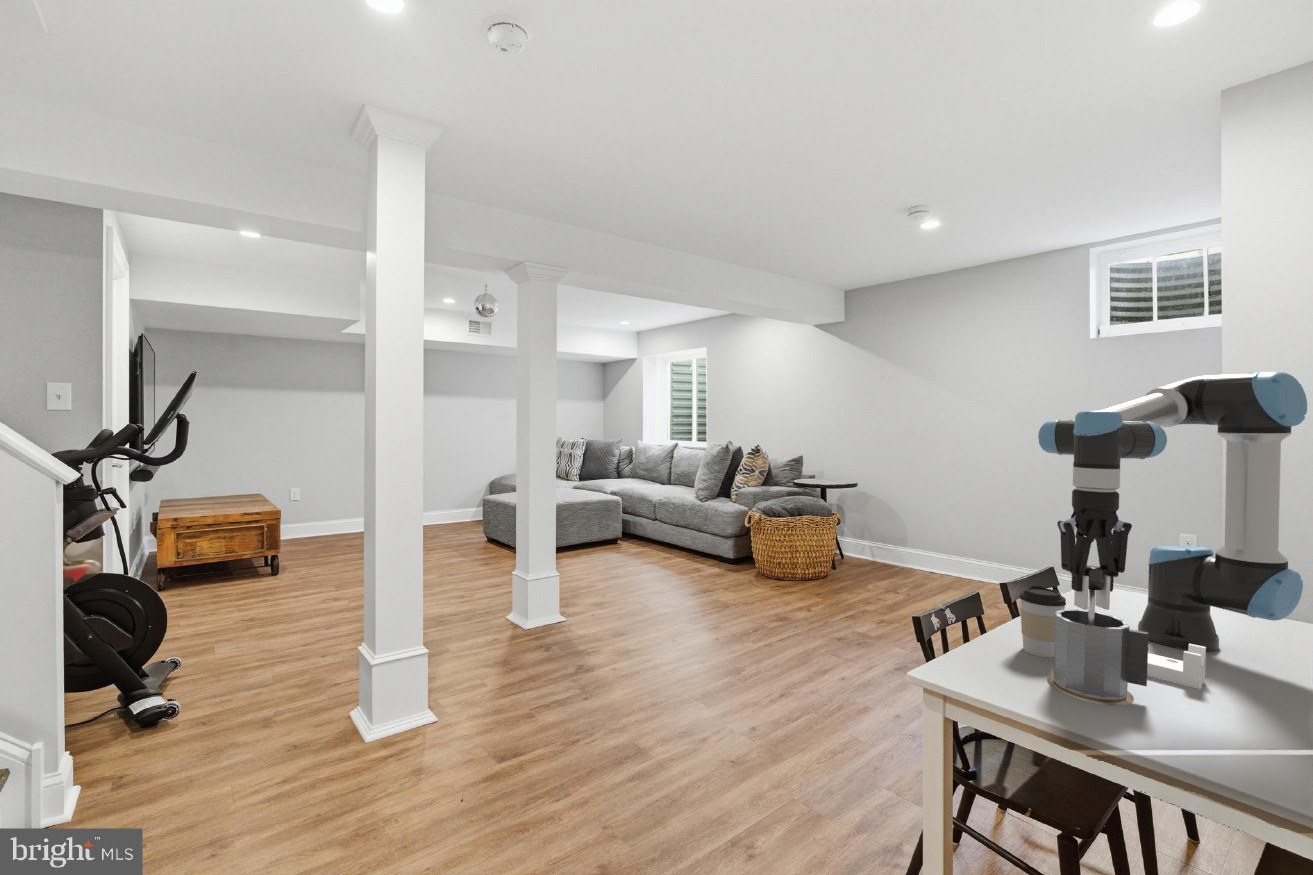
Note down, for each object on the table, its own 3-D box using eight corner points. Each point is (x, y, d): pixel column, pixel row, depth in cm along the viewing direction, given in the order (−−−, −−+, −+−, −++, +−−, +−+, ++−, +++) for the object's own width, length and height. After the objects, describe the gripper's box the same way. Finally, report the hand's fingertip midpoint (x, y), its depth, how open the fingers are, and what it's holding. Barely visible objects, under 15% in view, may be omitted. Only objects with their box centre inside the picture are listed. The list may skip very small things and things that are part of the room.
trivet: (1097, 676, 127) (1097, 673, 127) (1153, 708, 113) (1153, 705, 113) (1031, 676, 126) (1031, 673, 126) (1079, 708, 112) (1079, 705, 112)
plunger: (1094, 658, 123) (1097, 562, 123) (1125, 675, 115) (1129, 572, 115) (1055, 658, 123) (1058, 562, 123) (1084, 675, 115) (1087, 572, 115)
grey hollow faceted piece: (1102, 675, 126) (1105, 609, 125) (1150, 702, 114) (1153, 629, 113) (1040, 675, 125) (1042, 609, 125) (1081, 702, 113) (1083, 629, 113)
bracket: (1204, 683, 124) (1206, 647, 124) (1199, 693, 120) (1200, 655, 120) (1126, 663, 134) (1127, 630, 134) (1118, 672, 130) (1119, 637, 129)
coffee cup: (1072, 663, 133) (1074, 596, 133) (1027, 659, 135) (1029, 593, 135) (1053, 648, 142) (1055, 585, 142) (1011, 645, 144) (1013, 582, 143)
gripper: (1122, 487, 122) (1118, 601, 123) (1041, 486, 122) (1037, 601, 123) (1153, 491, 115) (1148, 613, 115) (1067, 491, 114) (1063, 613, 115)
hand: (1091, 607), depth 119 cm, fingers closed on plunger, 4 cm apart
